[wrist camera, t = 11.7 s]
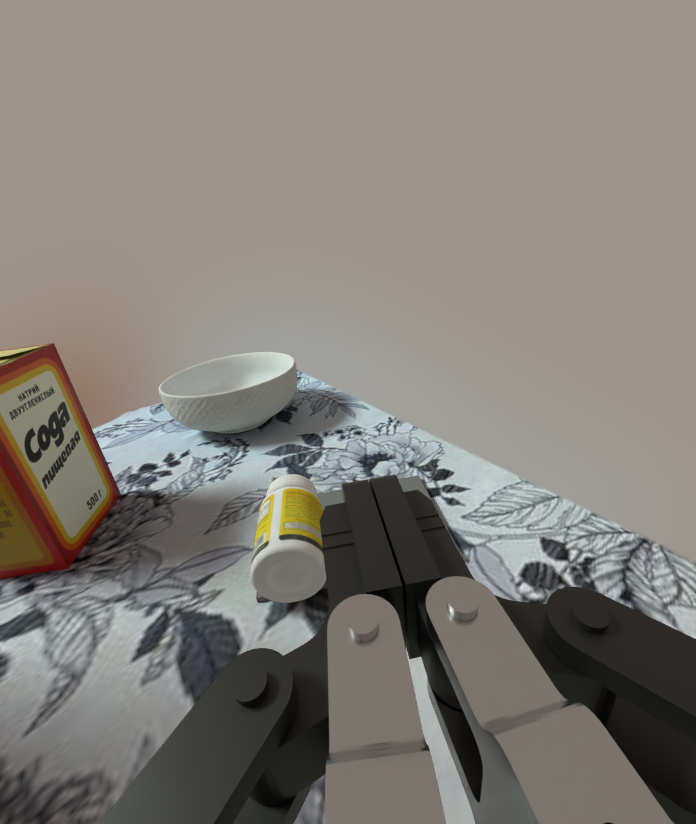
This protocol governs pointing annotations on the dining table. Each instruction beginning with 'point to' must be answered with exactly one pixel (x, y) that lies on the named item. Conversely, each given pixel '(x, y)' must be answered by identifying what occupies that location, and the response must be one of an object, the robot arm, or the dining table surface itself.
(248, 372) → the cereal bowl
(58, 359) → the baking soda box
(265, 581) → the supplement bottle
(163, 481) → the dining table surface
